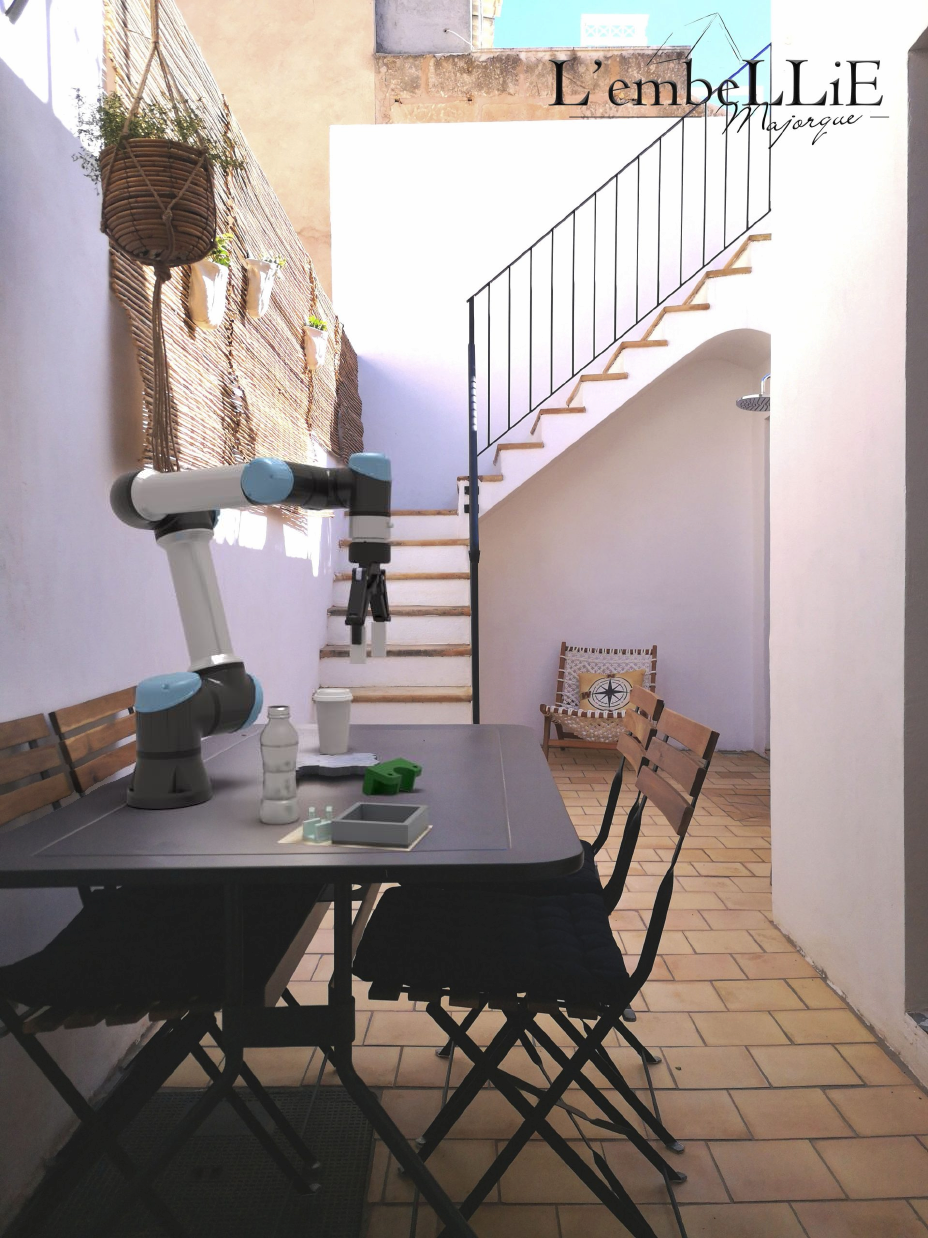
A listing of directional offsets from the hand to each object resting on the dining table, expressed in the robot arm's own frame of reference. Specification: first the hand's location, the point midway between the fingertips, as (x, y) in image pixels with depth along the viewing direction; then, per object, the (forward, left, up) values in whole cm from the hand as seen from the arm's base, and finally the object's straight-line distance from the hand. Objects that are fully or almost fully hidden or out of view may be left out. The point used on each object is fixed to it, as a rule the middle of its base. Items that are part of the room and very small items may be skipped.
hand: (368, 660), depth 159 cm
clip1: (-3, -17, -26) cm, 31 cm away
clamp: (+1, +12, -27) cm, 29 cm away
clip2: (0, -24, -26) cm, 35 cm away
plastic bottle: (-11, -15, -27) cm, 32 cm away
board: (+5, -20, -27) cm, 34 cm away
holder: (+9, -20, -26) cm, 34 cm away
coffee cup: (-26, +50, -27) cm, 63 cm away
